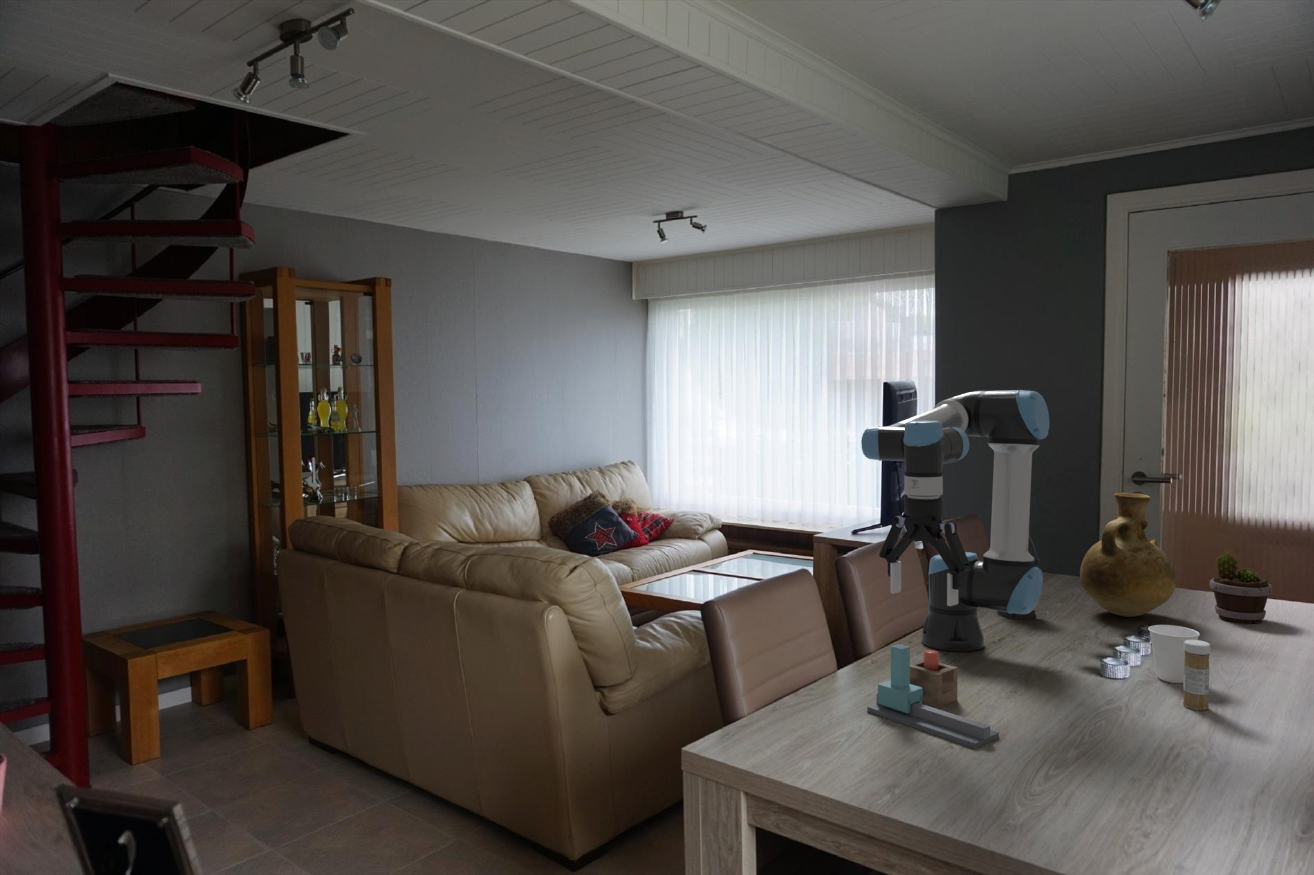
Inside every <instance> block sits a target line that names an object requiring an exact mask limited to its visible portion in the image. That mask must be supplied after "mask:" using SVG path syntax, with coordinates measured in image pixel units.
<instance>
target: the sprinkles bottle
mask: <svg viewBox="0 0 1314 875" xmlns="http://www.w3.org/2000/svg"><path fill="white" fill-rule="evenodd" d="M1184 650H1185V663H1184V683H1183V687H1182V688H1183V701H1182V705H1183V706H1184V707H1185V708H1188V709H1190V710H1194V711H1207V710H1208V709H1209V691H1210V655H1211V644H1210V643H1209V642H1206V641H1204V640H1199V639H1198V640H1186V641H1184Z"/></svg>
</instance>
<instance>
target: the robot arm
mask: <svg viewBox="0 0 1314 875" xmlns="http://www.w3.org/2000/svg"><path fill="white" fill-rule="evenodd" d="M1049 430H1050V414H1049V409H1048V405H1047V403H1046V400H1045V399H1044V397H1043V395H1042V394H1040V393H1039V392H1037V391H1034V390H1025V389H1024V390H1023V389H1017V390H1014V389H1011V390H1010V389H1009V390H974V391H969V392H965V393H962V394H959V395H956V396H955V395H954V396H952V397H949V398H947V399H944V400H941V401H940V402H938V403H936V404H935V406H934V407H933V408H932V409H929V410H926V411H924V412H922V413H919V414H917V415H915V416H912V417H909V418H906V419H904V420H901V421H899V422H895V423H892V424H891V425H887V426H881V425H877V426H869V427H867V428H866V429H865V430H864V431H863V433H862V436H861V440H860V443H861V444H860V445H861V451H862V454H863V455H864V457H865V458H867V459H868V460H875V461H881V462H882V461H891V462H895V461H896V462H904V470H903V471H904V473H903V474H904V483H903V484H904V486H903V487H904V489H903V490H904V491H903V492H904V494H905V495H906V496H905V497H904V500H903V501H904V504H903V505H904V506H903V508H904V509H903V510H904V511H903V513H904V514H905V517H904V516H903V515H897V516H893V517H892V518H891V525H890V528H889V531H888V532H887V533H888V534H887V535H886V538H885V541H884V542H883V545H882V547H881V550H880V551H879V557H880V558H881V559H885V560H886V562H887V576H888V577H889V578H890V584H889V586H890V594H892V595H896V594H899V593H902V561H900V557H901V556H902V555H903V554H904V552H905V551H906V550H907V549H908V547H910V546H911V544H912V543H913V542H922V543H926V544H928V543H929V544H930V545H931V546H932V547H934V549H935V550H936V552H937V553H938V554H936V555H934V556H933V557H931V558H930V560H929V564H928V574H927V575H928V613H927V616H926V619H925V622H924V623H923V624H924V625H923V627H922V630H921V635H920V636H921V639H920V640H921V643H922V644H923V645H925V646H927V647H929V648H933V649H934V650H935V649H936V650H939V651H940V650H941V651H947V652H957V653H959V652H960V653H962V652H966V653H967V652H974V651H975V652H976V651H980V650H981V649H983V648H984V647H985V641H984V640H985V639H984V634H983V631H982V627H981V625H980V624H981V623H980V622H979V618H978V613H977V612H978V611H977V610H978V609H984V610H985V609H986V610H991V611H996V612H997V611H1003V612H1008V613H1009V614H1011V613H1016V614H1028V613H1030V612H1031V611H1032V610H1033V609H1034V610H1035V608H1036V607H1037V605H1038V602H1039V600H1040V597H1041V594H1042V590H1043V584H1044V583H1043V582H1044V576H1043V571H1042V569H1041V568H1039V567H1038V566H1037V567H1034V558H1033V557H1032V556H1033V555H1032V554H1031V553H1030V552H1029V539H1030V537H1029V533H1030V512H1031V509H1030V508H1031V486H1032V467H1033V466H1032V464H1033V453H1035V451H1036V450H1037V449H1038V448H1040V440H1043V439H1044V440H1045V438H1047V437H1048V435H1049ZM969 437H975V438H976V437H977V438H979V437H980V438H987V439H988V440H987V445H988V446H989V447H990V448H991V449H992V450H993V453H994V454H993V477H992V495H991V496H992V500H991V521H990V522H991V524H990V543H989V544H990V545H989V546H990V547H989V550H987V551H986V552H985V553H984V554H983V557H982V558H983V560H979V557H978V554H977V553H976V552H971V551H969V552H967V551H965V548H964V546H963V544H962V541H961V540H960V538H959V535H958V528H957V523H956V522H954V521H953V522H948V523H943V521H942V520H943V519H942V516H943V512H944V510H943V509H944V508H943V505H944V504H943V501H944V500H943V498H942V497H941V496H942V495H943V493H944V486H943V483H944V482H943V480H944V479H943V478H944V477H943V469H944V468H943V467H944V466H943V465H946V464H953V463H957V462H958V461H960V460H962V459H963V458H964V457H966V456H967V454H968V452H969V449H970V440H969ZM904 527H905V528H906V532H905V533H904V534H903V535H902V537H901V540H899V542H898V539H899V538H900V536H901V533H902V531H903V528H904ZM942 533H943V534H944V536H945V538H944V536H943V535H942Z"/></svg>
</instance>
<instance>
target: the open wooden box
mask: <svg viewBox="0 0 1314 875" xmlns="http://www.w3.org/2000/svg"><path fill="white" fill-rule="evenodd" d="M958 669H959V668H958V667H957V666H953V665H950V664H945V663H942V662H939V671H933V670H929V669H926V668H924V658H922V659H919V660H917V661H914V662H913V661H912V662H910V684H912V685H915V686H918V687H922V688H923V698H922V704H923V705H926V706H929V707H933V708H936V709H940V708H942V707H944V706H947V705H949V704H952V703H954V702H957V701H958V677H959V676H958V671H959V670H958Z"/></svg>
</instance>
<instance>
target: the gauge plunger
mask: <svg viewBox="0 0 1314 875" xmlns="http://www.w3.org/2000/svg"><path fill="white" fill-rule="evenodd" d="M939 652H940V651H937V650H935V649H934V650H933V649H928V650H927V649H925V650H924V651H923V659H924V668H926V669H929V670H933V671H939V663H940V661H939V660H940V658H939V656H940V655H939V654H940V653H939Z"/></svg>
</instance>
